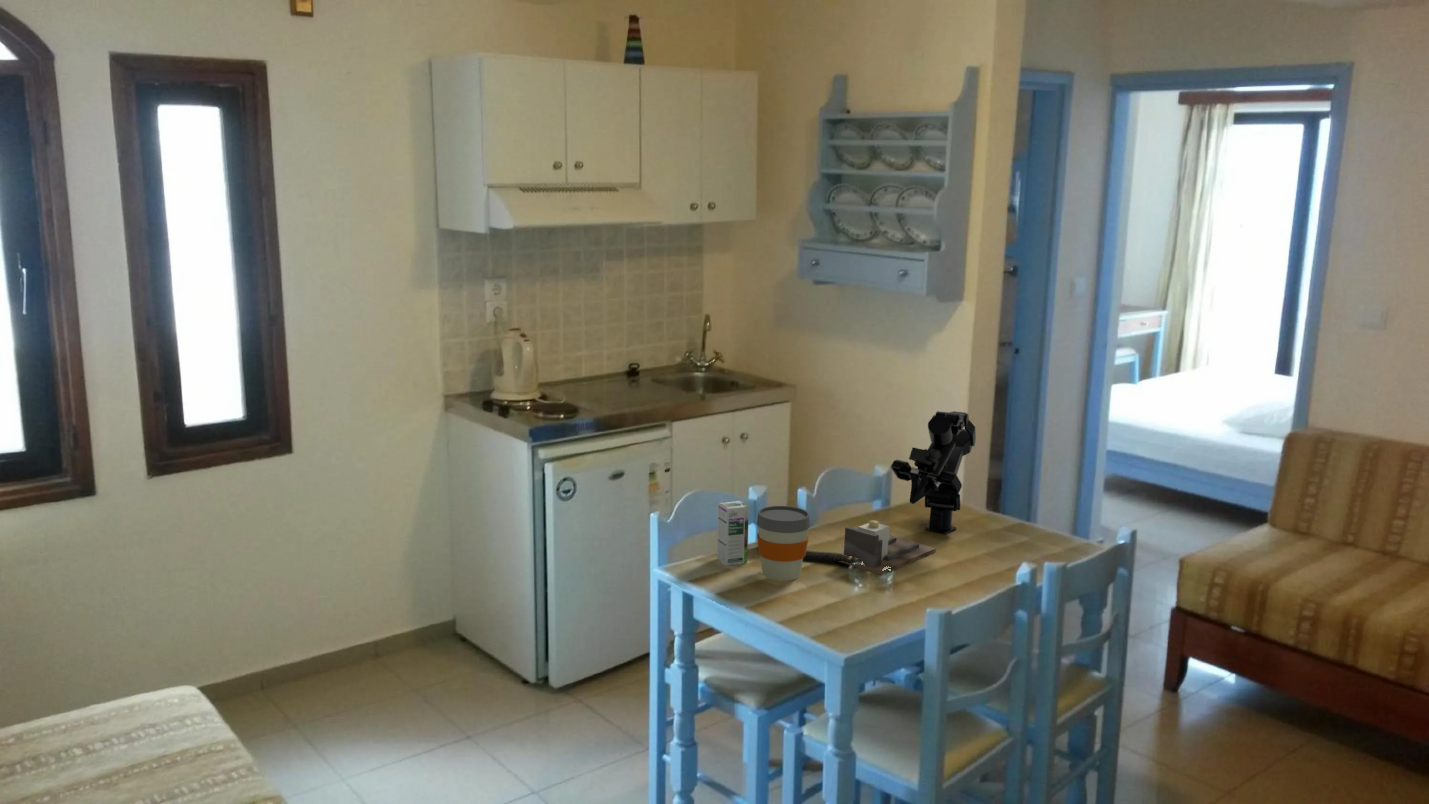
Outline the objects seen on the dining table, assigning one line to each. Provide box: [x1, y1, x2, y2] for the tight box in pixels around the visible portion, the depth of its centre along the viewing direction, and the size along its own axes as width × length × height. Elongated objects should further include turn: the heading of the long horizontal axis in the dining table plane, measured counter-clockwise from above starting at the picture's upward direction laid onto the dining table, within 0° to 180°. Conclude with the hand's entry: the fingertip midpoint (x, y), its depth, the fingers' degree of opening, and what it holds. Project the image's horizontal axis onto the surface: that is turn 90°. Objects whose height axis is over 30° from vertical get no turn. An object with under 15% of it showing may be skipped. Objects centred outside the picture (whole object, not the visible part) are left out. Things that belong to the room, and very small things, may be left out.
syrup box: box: [716, 500, 749, 567], centre depth 264 cm, size 6×6×14 cm
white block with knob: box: [857, 519, 890, 560], centre depth 267 cm, size 6×5×9 cm
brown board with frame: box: [834, 526, 937, 576], centre depth 272 cm, size 24×14×9 cm, turn 137°
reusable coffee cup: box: [756, 505, 811, 582], centre depth 257 cm, size 13×13×15 cm
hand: (911, 502), depth 278 cm, fingers closed
